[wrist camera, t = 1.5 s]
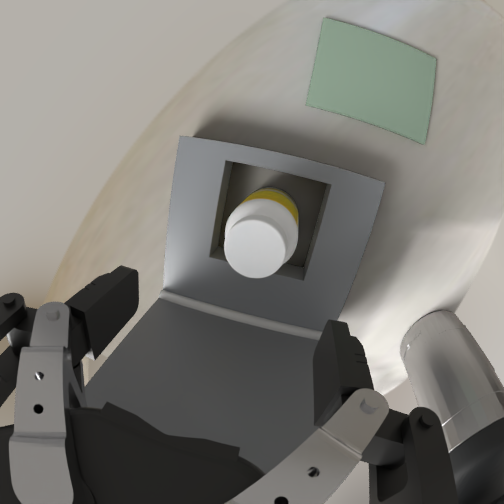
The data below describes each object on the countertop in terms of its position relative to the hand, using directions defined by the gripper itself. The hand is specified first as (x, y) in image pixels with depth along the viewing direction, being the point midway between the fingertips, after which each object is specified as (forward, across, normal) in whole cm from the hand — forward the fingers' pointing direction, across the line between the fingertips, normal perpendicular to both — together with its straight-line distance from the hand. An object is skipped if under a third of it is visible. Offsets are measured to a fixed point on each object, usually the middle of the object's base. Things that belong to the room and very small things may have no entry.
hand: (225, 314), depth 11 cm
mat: (+17, -8, -16) cm, 24 cm away
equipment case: (+17, 0, +2) cm, 17 cm away
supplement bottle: (+17, 0, 0) cm, 17 cm away
